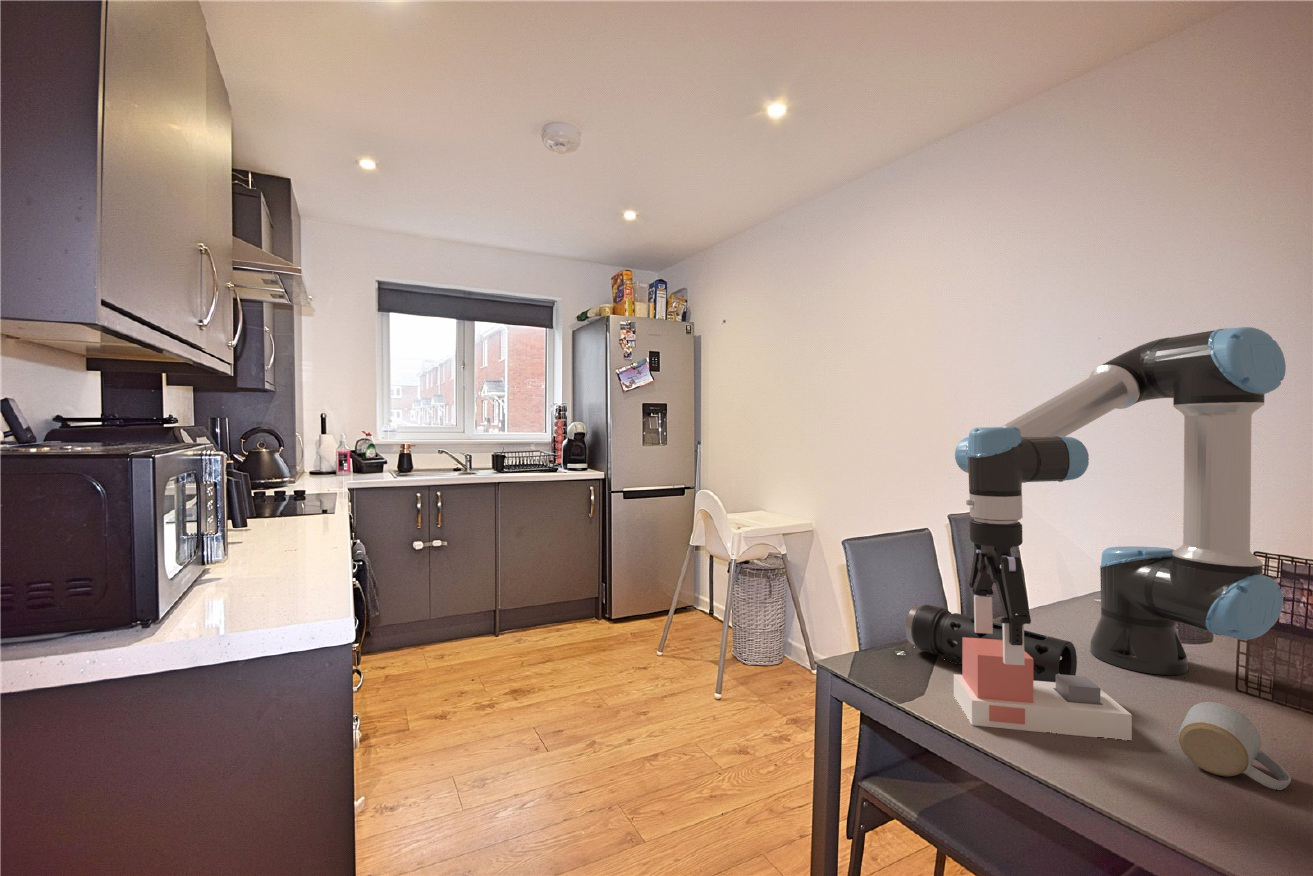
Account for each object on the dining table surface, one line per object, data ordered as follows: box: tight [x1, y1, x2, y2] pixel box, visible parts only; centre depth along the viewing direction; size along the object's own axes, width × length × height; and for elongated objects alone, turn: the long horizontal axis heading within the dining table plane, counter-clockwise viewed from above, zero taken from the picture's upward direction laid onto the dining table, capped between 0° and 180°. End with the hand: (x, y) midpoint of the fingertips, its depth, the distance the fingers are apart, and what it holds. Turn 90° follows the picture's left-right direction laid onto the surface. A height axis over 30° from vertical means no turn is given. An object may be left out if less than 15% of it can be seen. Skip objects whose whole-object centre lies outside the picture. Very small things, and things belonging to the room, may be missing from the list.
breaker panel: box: [953, 673, 1133, 741], centre depth 93 cm, size 22×10×4 cm, turn 77°
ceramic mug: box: [1178, 701, 1292, 791], centre depth 78 cm, size 11×8×8 cm
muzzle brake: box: [904, 604, 1078, 682], centre depth 111 cm, size 10×28×10 cm, turn 36°
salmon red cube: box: [961, 637, 1033, 703], centre depth 94 cm, size 8×8×7 cm
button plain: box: [1056, 674, 1101, 705], centre depth 92 cm, size 4×4×4 cm
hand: (997, 647), depth 94 cm, fingers open, 13 cm apart
